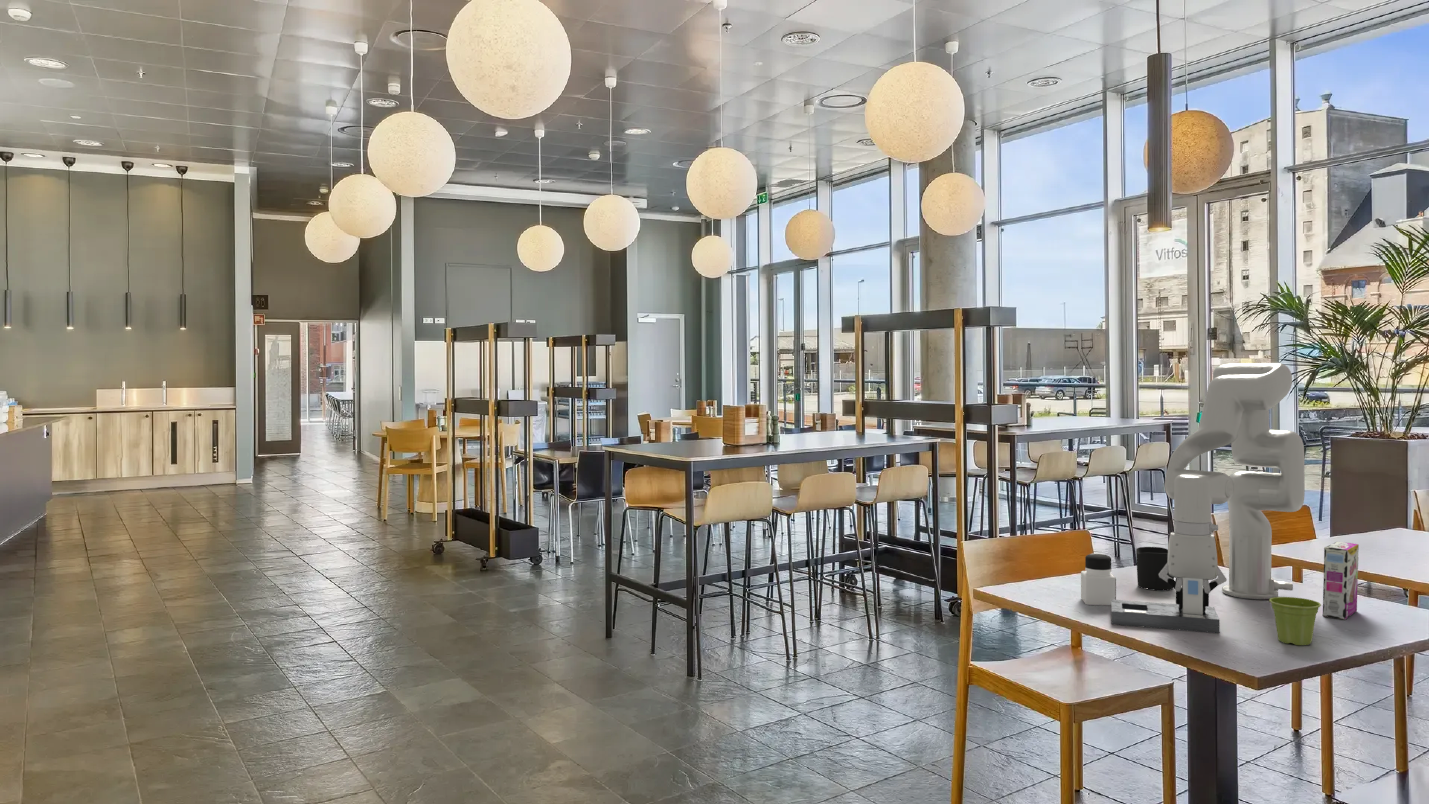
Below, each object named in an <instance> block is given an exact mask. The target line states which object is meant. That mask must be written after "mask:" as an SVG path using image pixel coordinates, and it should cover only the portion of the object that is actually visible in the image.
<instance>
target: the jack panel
mask: <svg viewBox="0 0 1429 804" xmlns="http://www.w3.org/2000/svg"><path fill="white" fill-rule="evenodd" d="M1110 607H1111V610H1110V611H1111V613H1110V615H1111V625H1114V624H1117V626H1126V625H1127V626H1128V627H1138V626H1144V627H1143V628H1150V627H1152V628H1153V629H1164V630H1175V629H1176V630H1175V631H1187V630H1188V632H1198V633H1199V632H1203V633H1211V632H1216V633H1215V634H1220V624H1221V623H1220V621H1221V620H1220V618H1219V615H1218V613H1217V610H1216V608H1215V606H1209V607H1207V606H1206V611H1203V615H1198V614H1185V613H1182V609H1180V608H1179V604H1176V603H1167V602H1166V603H1165V602H1152V601H1138V600H1125V599H1116V600H1113V599H1111V606H1110ZM1118 624H1120V625H1118ZM1152 628H1151V629H1152ZM1177 629H1178V630H1177ZM1179 629H1180V630H1179Z"/></svg>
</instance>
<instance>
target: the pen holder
mask: <svg viewBox="0 0 1429 804" xmlns="http://www.w3.org/2000/svg"><path fill="white" fill-rule="evenodd" d="M1135 549H1136V550H1135V553H1136V554H1135V555H1136V556H1135V557H1136V577H1137V586H1138V587H1139V586H1140V587H1139V588H1141V587H1142V588H1141V589H1144V588H1148V589H1154V590H1153V591H1157V590H1166V591H1171V590H1173V589H1174V588H1173V587H1172V586H1171V585H1170V584H1169V583H1168V582H1166V581H1165V580H1163V579H1162V578H1160V577H1159V573H1160V571H1161V570H1162V569H1163V568H1164V566H1165V565H1166V564H1167V557H1168V548H1165V547H1161V546H1160V547H1159V546H1141V547H1139V546H1138V547H1136V548H1135ZM1167 575H1168V576H1169V577H1171V578H1172V579H1173V580H1174V581H1175V578H1174V577H1172V576H1170V575H1169V572H1168V573H1167ZM1148 589H1147V590H1148ZM1170 589H1171V590H1170Z"/></svg>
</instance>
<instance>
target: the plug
mask: <svg viewBox="0 0 1429 804" xmlns="http://www.w3.org/2000/svg"><path fill="white" fill-rule="evenodd" d="M1181 587H1182V591H1183V609H1182V613H1185V614H1198V615H1203V579H1196V578H1183V581H1182V586H1181Z"/></svg>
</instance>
